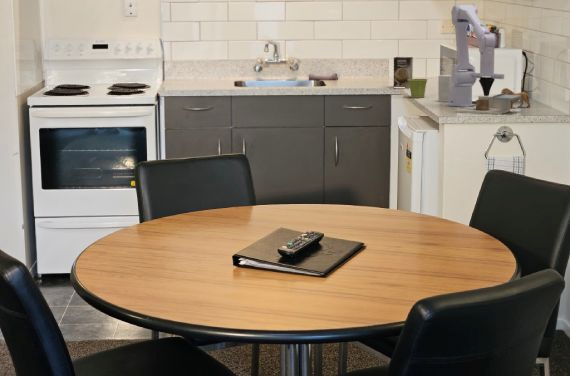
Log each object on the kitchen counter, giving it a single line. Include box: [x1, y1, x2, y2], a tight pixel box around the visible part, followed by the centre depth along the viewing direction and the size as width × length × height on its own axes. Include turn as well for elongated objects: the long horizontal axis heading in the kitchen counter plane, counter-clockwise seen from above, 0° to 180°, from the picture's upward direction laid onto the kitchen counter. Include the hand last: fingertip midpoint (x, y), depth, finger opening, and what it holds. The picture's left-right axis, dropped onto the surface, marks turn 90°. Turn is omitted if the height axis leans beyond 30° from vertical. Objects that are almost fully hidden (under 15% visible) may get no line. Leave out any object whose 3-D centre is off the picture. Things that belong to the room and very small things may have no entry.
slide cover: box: [492, 93, 521, 100], centre depth 398 cm, size 8×11×1 cm
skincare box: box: [437, 74, 454, 103], centre depth 442 cm, size 6×4×12 cm
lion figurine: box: [500, 87, 531, 110], centre depth 413 cm, size 15×5×9 cm, turn 111°
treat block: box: [475, 99, 489, 111], centre depth 405 cm, size 4×4×5 cm
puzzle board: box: [454, 95, 511, 115], centre depth 405 cm, size 20×12×6 cm, turn 56°
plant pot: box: [408, 78, 428, 99], centre depth 460 cm, size 9×9×9 cm
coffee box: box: [393, 56, 414, 88], centre depth 502 cm, size 9×6×16 cm
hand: (486, 95), depth 403 cm, fingers closed
